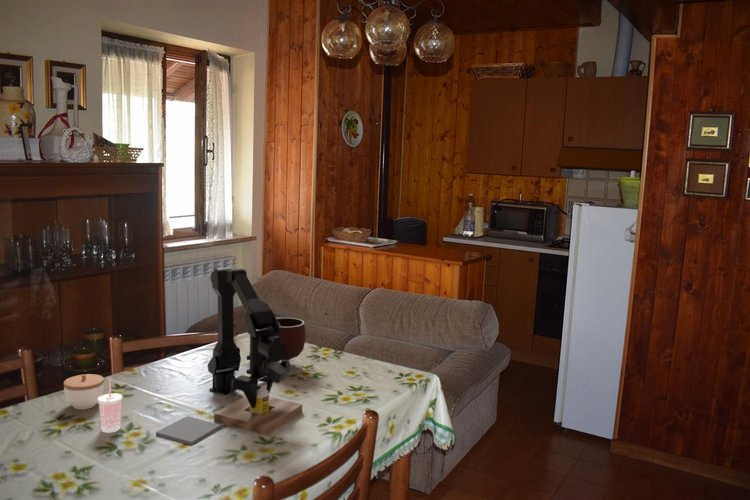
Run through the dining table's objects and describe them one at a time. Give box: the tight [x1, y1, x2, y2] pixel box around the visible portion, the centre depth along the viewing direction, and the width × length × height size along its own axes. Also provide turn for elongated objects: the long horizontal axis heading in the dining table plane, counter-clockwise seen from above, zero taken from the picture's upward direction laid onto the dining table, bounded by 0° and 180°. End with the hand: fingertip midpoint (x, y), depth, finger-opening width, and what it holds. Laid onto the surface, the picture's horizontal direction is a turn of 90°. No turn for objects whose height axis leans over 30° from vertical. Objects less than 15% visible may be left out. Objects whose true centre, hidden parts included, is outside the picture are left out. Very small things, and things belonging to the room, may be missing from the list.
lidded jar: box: [63, 373, 105, 410], centre depth 183 cm, size 11×11×9 cm
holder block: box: [213, 395, 303, 436], centre depth 180 cm, size 18×18×2 cm
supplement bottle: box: [250, 380, 270, 415], centre depth 180 cm, size 5×5×10 cm
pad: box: [155, 415, 222, 446], centre depth 170 cm, size 12×12×1 cm
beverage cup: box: [97, 378, 123, 434], centre depth 168 cm, size 6×6×14 cm
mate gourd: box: [265, 317, 306, 376], centre depth 220 cm, size 16×14×20 cm
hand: (259, 404), depth 180 cm, fingers closed on supplement bottle, 5 cm apart
